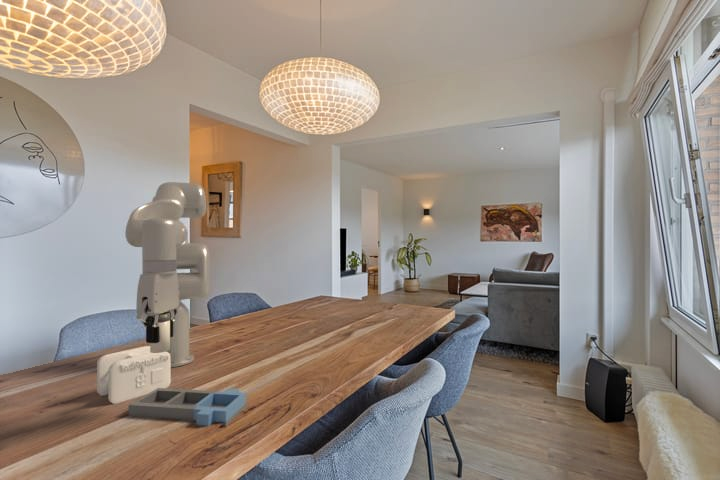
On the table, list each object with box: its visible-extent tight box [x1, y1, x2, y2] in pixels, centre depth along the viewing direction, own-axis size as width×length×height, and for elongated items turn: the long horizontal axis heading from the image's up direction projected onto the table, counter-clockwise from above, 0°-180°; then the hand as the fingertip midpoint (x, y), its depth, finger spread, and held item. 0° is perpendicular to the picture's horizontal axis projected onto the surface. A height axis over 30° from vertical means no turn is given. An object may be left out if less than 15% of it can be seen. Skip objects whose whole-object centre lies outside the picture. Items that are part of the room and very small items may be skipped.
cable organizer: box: [96, 345, 172, 405], centre depth 99 cm, size 15×11×12 cm
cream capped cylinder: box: [149, 313, 170, 353], centre depth 89 cm, size 4×4×9 cm
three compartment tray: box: [128, 387, 247, 427], centre depth 88 cm, size 25×14×4 cm, turn 81°
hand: (160, 338), depth 89 cm, fingers closed on cream capped cylinder, 4 cm apart
